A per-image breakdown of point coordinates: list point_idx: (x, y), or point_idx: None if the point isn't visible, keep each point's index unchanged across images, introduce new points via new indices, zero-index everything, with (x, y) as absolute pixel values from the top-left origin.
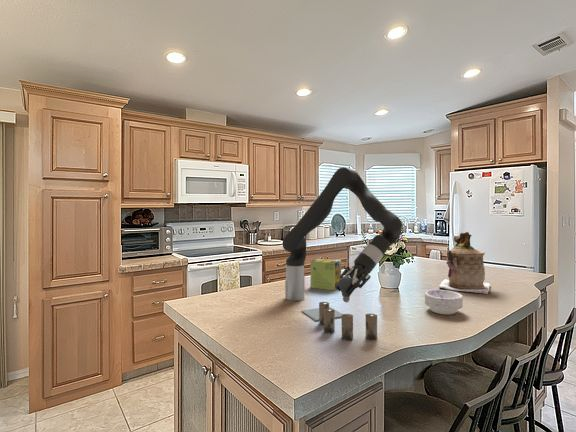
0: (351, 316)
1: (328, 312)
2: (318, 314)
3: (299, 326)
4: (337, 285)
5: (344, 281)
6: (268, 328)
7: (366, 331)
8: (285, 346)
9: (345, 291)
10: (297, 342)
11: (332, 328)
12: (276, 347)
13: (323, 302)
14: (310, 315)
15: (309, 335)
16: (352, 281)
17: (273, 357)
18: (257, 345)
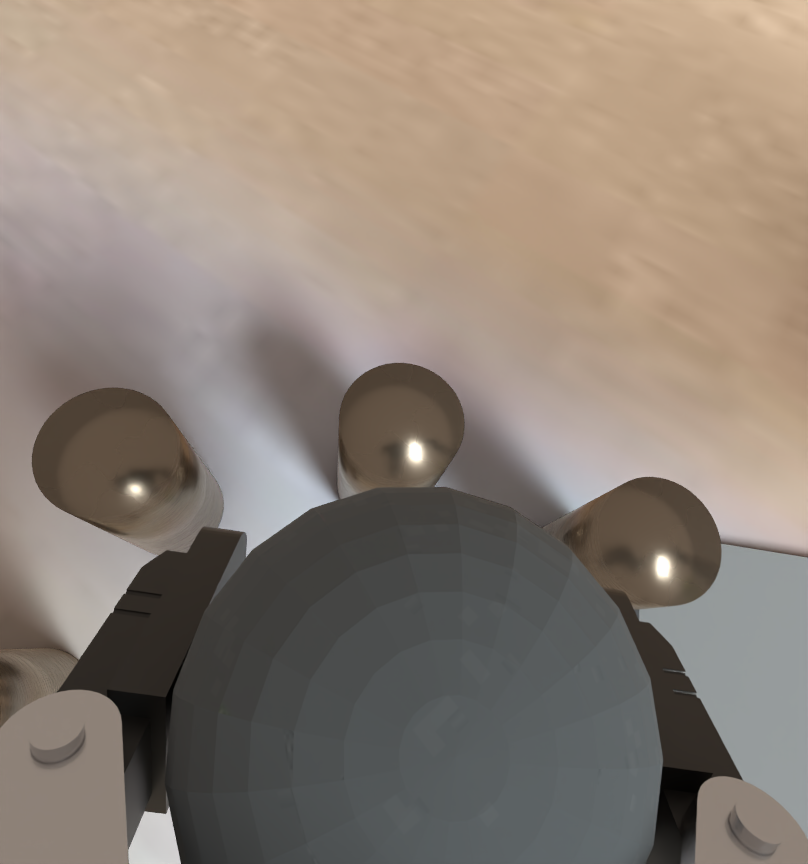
0: (47, 470)
1: (357, 382)
2: (772, 649)
3: (585, 360)
4: (638, 624)
5: (301, 535)
6: (637, 187)
7: (24, 650)
8: (324, 121)
9: (238, 532)
10: (334, 196)
11: (337, 472)
12: (341, 83)
13: (692, 552)
14: (768, 562)
15: (392, 316)
16: (184, 847)
17: (240, 18)
18: (422, 35)
